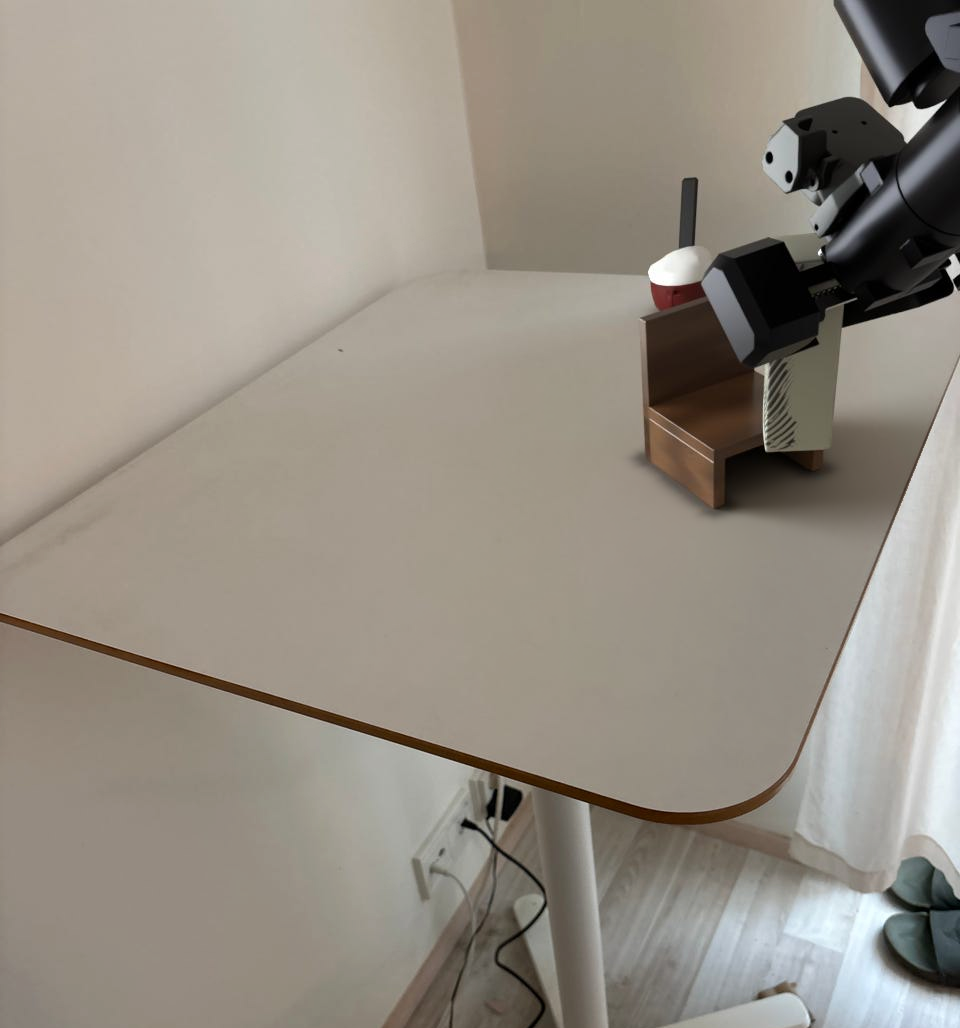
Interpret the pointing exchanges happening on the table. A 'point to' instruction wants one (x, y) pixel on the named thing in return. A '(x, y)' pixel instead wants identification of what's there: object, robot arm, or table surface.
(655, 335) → the wooden doll chair
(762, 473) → the table surface
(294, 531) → the table surface
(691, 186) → the cocoa
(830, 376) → the box
